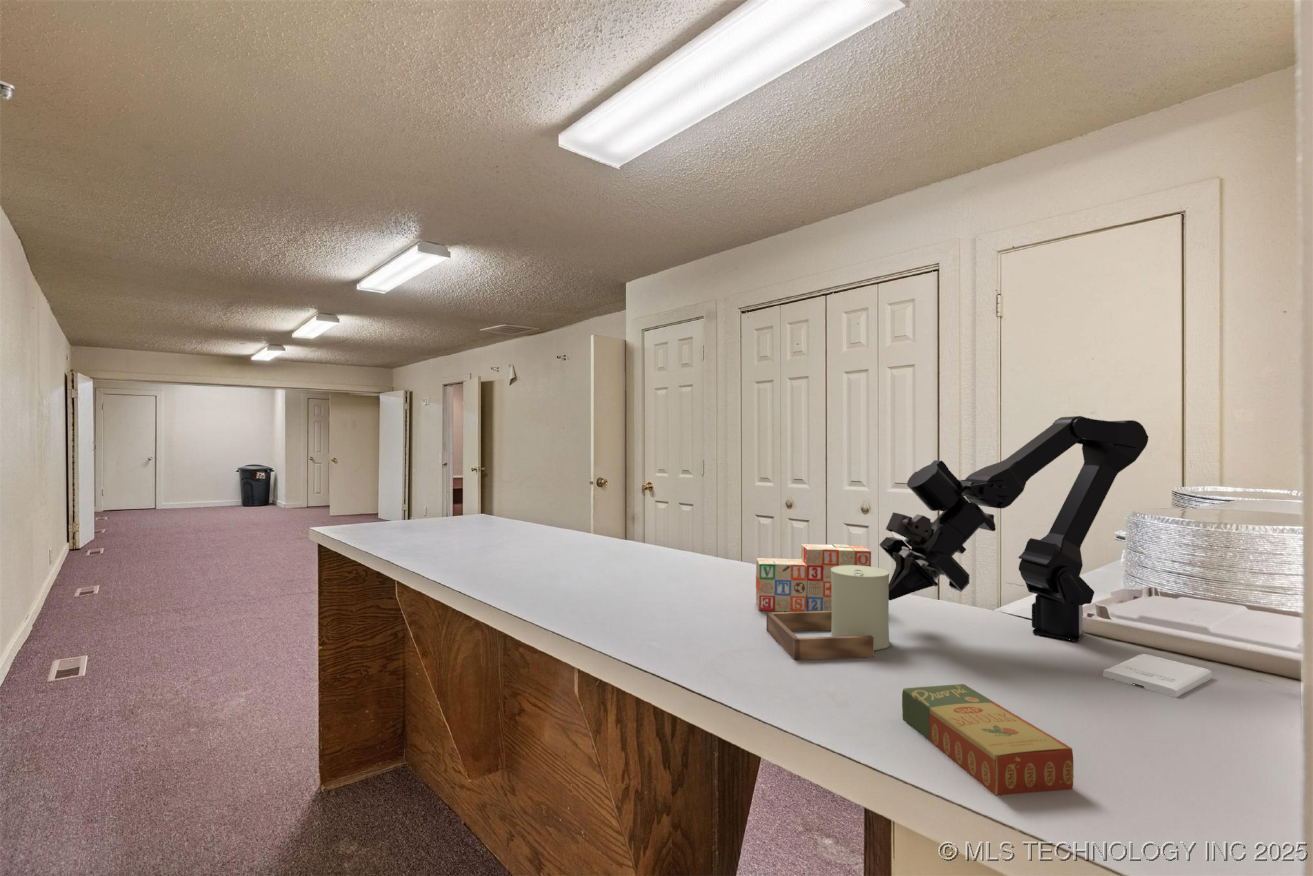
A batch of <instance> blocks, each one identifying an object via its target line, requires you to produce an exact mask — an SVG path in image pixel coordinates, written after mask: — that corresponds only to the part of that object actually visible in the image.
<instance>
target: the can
mask: <svg viewBox="0 0 1313 876" xmlns="http://www.w3.org/2000/svg"><path fill="white" fill-rule="evenodd" d="M889 582H890V572H889V571H888V570H886V569H885V568H879V567H876V566H871V567H870V566H860V565H842V566H835V567H833V568H831V586H832V628H831V629H830V631H831V632H830V633H831V634H830V637H836V636H867V635H871V636H873V651H878V650H884V649H887V648H889V646H891V645H890V644H891V641H890V632H889V631H890V627H889V622H890V621H889V619H890V618H889V617H890V616H889V615H890V614H889V613H890V612H889V605H890V604H889V603H890V602H889V601H890V600H889Z"/></svg>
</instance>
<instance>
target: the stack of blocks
mask: <svg viewBox="0 0 1313 876" xmlns="http://www.w3.org/2000/svg"><path fill="white" fill-rule="evenodd" d="M755 560H756V561H755V562H756V563H755V565H756V566H755V603H756V606H757V610H758V611H759V610H763V612H765V611H767V612H784V611H786V612H807V611H832V586H831V568H833V567H835V566H842V565H860V566H870V567H872V551H871V550H870V549H869V548H867V547H865V546H863V545H848V544H843V543H842V544H839V543H836V544H834V543H833V544H813V543H811V544H810V543H809V544H807V543H806V544H805V543H800V558H776V557H774V558H773V557H772V558H770V557H769V558H768V557H767V558H766V557H764V558H763V557H757V558H756V559H755Z"/></svg>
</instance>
